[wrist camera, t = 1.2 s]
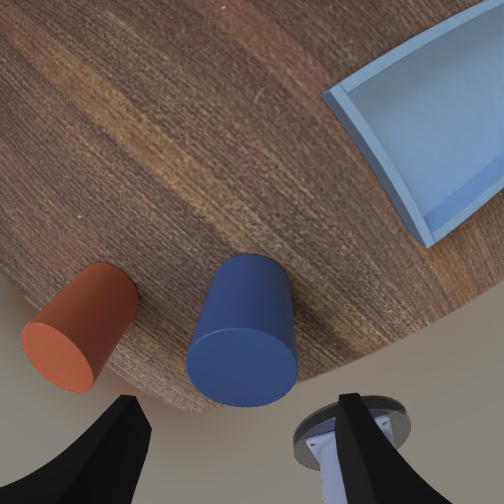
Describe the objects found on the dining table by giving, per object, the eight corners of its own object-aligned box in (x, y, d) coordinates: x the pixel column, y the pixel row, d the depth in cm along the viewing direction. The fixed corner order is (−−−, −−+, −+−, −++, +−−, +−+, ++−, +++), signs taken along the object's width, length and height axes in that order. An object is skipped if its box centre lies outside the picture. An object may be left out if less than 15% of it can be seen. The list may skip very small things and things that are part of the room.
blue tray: (409, 233, 17) (427, 249, 14) (319, 95, 14) (328, 90, 12) (568, 97, 11) (589, 99, 9) (513, -12, 9) (532, -19, 7)
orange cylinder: (151, 312, 20) (110, 388, 13) (103, 329, 21) (58, 395, 14) (115, 252, 18) (53, 313, 12) (68, 275, 19) (9, 332, 13)
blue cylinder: (300, 307, 19) (312, 393, 12) (231, 330, 20) (217, 415, 13) (272, 241, 17) (273, 312, 11) (198, 269, 18) (164, 346, 12)
